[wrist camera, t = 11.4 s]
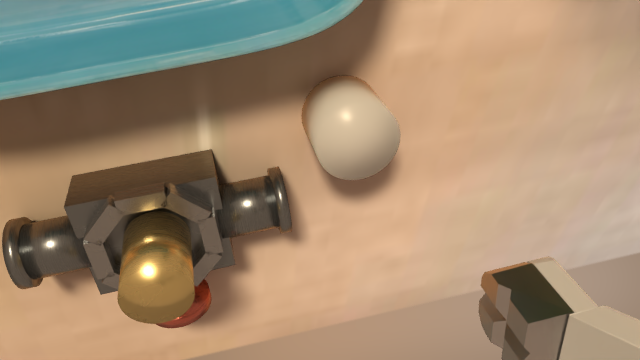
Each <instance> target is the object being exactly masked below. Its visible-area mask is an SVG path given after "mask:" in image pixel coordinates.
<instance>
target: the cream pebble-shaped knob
mask: <svg viewBox="0 0 640 360" xmlns="http://www.w3.org/2000/svg"><path fill="white" fill-rule="evenodd" d="M301 116H302V124H303V127H304V130H305V132H306V134H307V136H308V138H309V140H310V143H311V145H312V147H313V149H314V151H315V153H316V155H317V157H318V159H319V161H320V163H321V165H322V167H323V168H324V169H325V170H326V171H327V172H328V173H329V174H331V175H333V176H334V177H337V178H339V179H343V180H360V179H365V178H368V177H370V176H373V175H374V174H376V173H378V172H379V171H381V170H382V169H383V168H385V167H386V166H387V165H388V164H389V163H390V161H391V160H392V159H393V157H394V156H395V154H396V152H397V150H398V147H399V143H400V128H399V124H398V122H397V120H396V118H395V117H394V115H393V114H392V113H391V112H390V110H389V109H388V108H387V107H386V105H385V104H384V103H383V102H382V100H381V99H380V98H379V97H378V96H377V94H376V93H375V92H374V91H373V89H372V88H371V87H370V86H369V85H368V84H367V83H366V82H365V81H363V80H361V79H359V78H357V77H353V76H347V75H342V76H335V77H331V78H329V79H326V80H325V81H323V82H321V83H320V84H318V85H317V86H316V87H315V88H314V89H313V90H312V91H311V92H310V93H309V95H308V96H307V98H306V100H305V102H304V105H303V108H302V115H301Z"/></svg>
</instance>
